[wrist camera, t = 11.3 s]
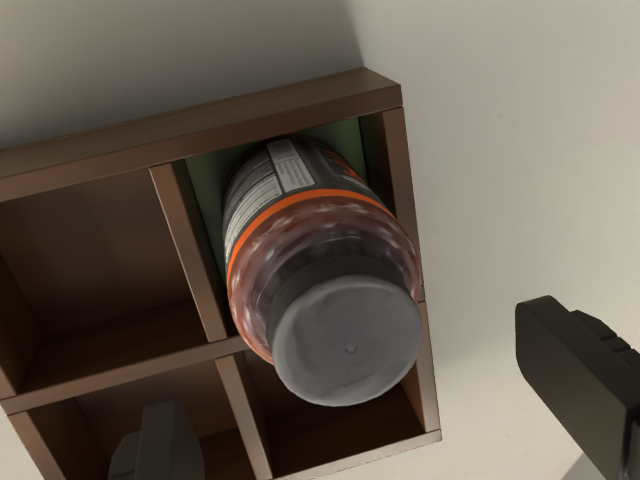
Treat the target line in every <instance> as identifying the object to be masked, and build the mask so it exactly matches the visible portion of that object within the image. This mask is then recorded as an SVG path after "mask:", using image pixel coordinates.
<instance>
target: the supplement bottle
mask: <svg viewBox="0 0 640 480" xmlns="http://www.w3.org/2000/svg"><path fill="white" fill-rule="evenodd" d="M221 216H222V229H223V241H224V256H225V269H226V282H227V289H228V299H229V306H230V309H231V313H232V317H233V320H234V322H235V325H236V327H237V329H238V331H239V333H240V335H241V336H242V338H243V339H244V341H245V342H246V343H247V344H248V345H249V347H250V348H251V349H252V350H253V351H254V352H255V353H256V354H258V355H259V356H260V357H262V358H263V359H264V360H266V361H267V362H269V363H271V364H273V365H274V367H275V369H276V371H277V373H278V376H279V378H280V379H281V380H282V381H283V383H284V384H285V386H286V387H287V388H288V389H289V390H290V391H291V392H293V393H295V394H296V395H297V396H299V397H300V398H302V399H304V400H306V401H308V402H311V403H314V404H320V405H324V406H332V407H335V406H349V405H353V404H358V403H363V402H366V401H368V400H370V399H373V398H375V397H378V396H380V395H382V394H383V393H384V392H386V391H388V390H389V389H390V388H392V387H393V386H394V385H395V384H397V383H398V382H399V381H400V380H401V379H402V378H403V377H404V376H405V375H406V374H407V373H408V371H409V370H410V369H411V367H412V366H413V364H414V363H415V360H416V358H417V357H418V355H419V353H420V350H421V346H422V339H423V322H422V318H421V314H420V311H419V309H418V306H417V302H418V298H419V294H420V288H421V267H420V264H419V259H418V255H417V252H416V249H415V248H414V244H413V241H412V240H411V238H410V237H409V236H408V234H407V233H406V231H405V230H404V228H403V227H402V225H401V224H400V223H399V222H398V221H397V220H396V219H395V217H394V215H393V214H392V213H391V212H390V211H389V210H388V209H387V207H386V206H385V205H384V204H383V202H382V201H381V200H380V199H379V197H378V196H377V195H376V194H374V192H373V191H372V190H371V189H370V188H369V187H368V185H367V184H366V183H365V182H364V180H363V179H362V178H361V177H360V175H359V174H358V173H357V172H356V171H355V170H354V168H353V167H352V166H351V165H350V164H349V163H348V161H347V160H346V159H345V158H344V157H343V156H342V155H341V154H339V153H338V152H337V151H336V150H334V149H333V148H332V147H330V146H329V145H327V144H326V143H324V142H322V141H320V140H318V139H315V138H311V137H308V136H305V135H294V134H289V135H281V136H275V137H272V138H269V139H266V140H263V141H261V142H259V143H257V144H256V145H254V146H252V147H251V148H249V149H248V150H247V151H246V152H244V153H243V154H242V155H241V156H240V157H239V158H238V160H237V161H236V162H235V163H234V165H233V166H232V168H231V170H230V172H229V174H228V175H227V178H226V180H225V183H224V187H223V190H222V200H221Z"/></svg>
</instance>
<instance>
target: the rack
mask: <svg viewBox="0 0 640 480" xmlns="http://www.w3.org/2000/svg"><path fill="white" fill-rule="evenodd" d="M402 105H403V101H402V92H401V85H400V84H398V83H396V82H394V81H392V80H390V79H388V78H386V77H384V76H382V75H380V74H378V73H376V72H374V71H372V70H370V69H368V68H366V67H362V68H358V69H354V70H349V71H345V72H341V73H336V74H332V75H328V76H323V77H319V78H315V79H310V80H306V81H302V82H297V83H293V84H289V85H284V86H280V87H275V88H271V89H267V90H262V91H258V92H254V93H249V94H245V95H241V96H236V97H232V98H228V99H223V100H219V101H215V102H210V103H206V104H202V105H197V106H193V107H188V108H184V109H180V110H175V111H171V112H167V113H162V114H158V115H154V116H149V117H145V118H141V119H136V120H132V121H128V122H123V123H119V124H115V125H110V126H106V127H102V128H97V129H93V130H88V131H84V132H80V133H75V134H71V135H67V136H62V137H58V138H54V139H49V140H45V141H41V142H36V143H32V144H28V145H23V146H19V147H15V148H10V149H6V150H1V151H0V406H1V408H2V410H3V411H4V413H5V414H6V415H7V418H8V420H9V422H10V423H11V425H12V427H13V428H14V430H15V432H16V433H17V435H18V437H19V438H20V440H21V442H22V443H23V445H24V446H25V448H26V450H27V451H28V453H29V455H30V456H31V458H32V460H33V461H34V463H35V465H36V466H37V468H38V470H39V471H40V473H41V475H42V476H43V478H44V480H109V479H108V475H109V470H110V464H111V459H112V455H113V454H114V452H115V450H116V449H117V447H118V445H119V444H120V442H121V441H122V439H123V437H124V436H125V434H129V433H132V432H136V431H140V430H141V424H142V416H143V410H144V406H145V405H146V404H148V403H152V402H156V401H159V400H163V399H167V398H170V397H174V396H178V395H179V396H180V397H181V399H182V401H183V403H184V405H185V408H186V410H187V413H188V415H189V418H190V421H191V423H192V426H193V428H194V431H195V433H196V436H197V438H198V441H199V443H200V447H201V450H202V455H203V460H204V469H205V480H312V479H315V478H319V477H322V476H325V475H329V474H332V473H335V472H339V471H342V470H345V469H348V468H352V467H355V466H358V465H362V464H365V463H368V462H372V461H375V460H378V459H381V458H385V457H388V456H391V455H395V454H398V453H401V452H405V451H408V450H411V449H415V448H418V447H421V446H424V445H428V444H431V443H434V442H438V441H441V440H442V435H441V428H440V419H439V410H438V402H437V393H436V384H435V376H434V367H433V358H432V350H431V341H430V333H429V324H428V315H427V307H426V301H425V291H424V285H423V284H424V280H423V272H422V263H421V254H420V246H419V237H418V229H417V220H416V211H415V203H414V194H413V186H412V177H411V168H410V160H409V151H408V142H407V134H406V125H405V117H404V108H403V107H402ZM289 134H294V135H305V136H308V137H311V138H315V139H318V140H320V141H322V142H324V143H326V144H327V145H329V146H330V147H332V148H333V149H334V150H336V151H337V152H338V153H339V154H341V155H342V156H343V157H344V158H345V159H346V160H347V161H348V163H349V164H350V165H351V166H352V167H353V168H354V170H355V171H356V172H357V173H358V174H359V175H360V177H361V178H362V179H363V180H364V182H365V183H366V184H367V185H368V187H369V188H370V189H371V190H372V191H373V192H374V194H376V195H377V196H378V197H379V199H380V200H381V201H382V202H383V204H384V205H385V206H386V207H387V209H388V210H389V211H390V212H391V213H392V214H393V215H394V217H395V219H396V220H397V221H398V222H399V223H400V224H401V225H402V227H403V228H404V230H405V231H406V233H407V234H408V236H409V237H410V238H411V240H412V241H413V244H414V248H415V249H416V252H417V255H418V259H419V264H420V267H421V288H420V294H419V298H418V302H417V306H418V309H419V311H420V314H421V318H422V322H423V339H422V346H421V350H420V353H419V355H418V357H417V358H416V360H415V363H414V364H413V366H412V367H411V369H410V370H409V371H408V373H407V374H406V375H405V376H404V377H403V378H402V379H401V380H400V381H399V382H398V383H397V384H395V385H394V386H393V387H392V388H390V389H389V390H388V391H386V392H384V393H383V394H382V395H380V396H378V397H375V398H373V399H370V400H368V401H366V402H363V403H358V404H353V405H349V406H335V407H332V406H324V405H320V404H314V403H311V402H308V401H306V400H304V399H302V398H300V397H299V396H297V395H296V394H295V393H293V392H291V391H290V390H289V389H288V388H287V387H286V386H285V384H284V383H283V381H282V380H281V379H280V378H279V376H278V373H277V371H276V369H275V367H274V365H273V364H271V363H269V362H267V361H266V360H264V359H263V358H262V357H260V356H259V355H258V354H256V353H255V352H254V351H253V350H252V349H251V348H250V347H249V345H248V344H247V343H246V342H245V341H244V339H243V338H242V336H241V335H240V333H239V331H238V329H237V327H236V325H235V322H234V320H233V317H232V313H231V309H230V306H229V299H228V289H227V282H226V269H225V256H224V241H223V229H222V216H221V200H222V190H223V187H224V183H225V180H226V178H227V175H228V174H229V172H230V170H231V168H232V166H233V165H234V163H235V162H236V161H237V160H238V158H239V157H240V156H241V155H242V154H243V153H244V152H246V151H247V150H248V149H249V148H251V147H252V146H254V145H256V144H257V143H259V142H261V141H263V140H266V139H269V138H272V137H275V136H281V135H289Z"/></svg>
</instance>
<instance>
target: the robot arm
mask: <svg viewBox="0 0 640 480" xmlns="http://www.w3.org/2000/svg"><path fill="white" fill-rule="evenodd" d="M515 331H516V358H517V362H518V366H519V368H520V371H521V373H522V375H523V376H524V378H525V379H526V381H527V382H528V383H529V385H530V386H531V387H532V388H533V390H534V391H535V392H536V393H537V394H538V396H539V397H540V398H541V399H542V401H543V402H544V403H545V404H546V406H547V407H548V408H549V409H550V411H551V412H552V413H553V414H554V416H555V417H556V418H557V419H558V420H559V422H560V423H561V424H562V425H563V427H564V428H565V429H566V430H567V432H568V433H569V434H570V435H571V437H572V438H573V439H574V440H575V441H576V443H577V444H578V445H579V446H580V448H581V449H582V450H583V451H584V453H585V454H586V455H587V456H588V458H589V459H590V460H591V461H592V463H593V464H594V465H595V466H596V467H597V468H598V470H599V471H600V472H601V474H602V475H603V476H604V477H605V479H606V480H640V354H639V353H638V352H637V351H636V350H635V349H631V347H630V345H629V344H628V343H627V342H625V341H624V340H623V339H622V338H621V337H617V334H616V333H615V332H614V331H613V330H611V329H610V328H609V327H608V326H607V325H606V324H604V323H603V322H602V321H601V320H599V319H597V318H595V317H593V316H590V315H588V314H586V313H584V312H581V311H579V310H575V311H572V312H569V311H568V310H567V309H566V308H565V307H564V306H562V305H561V304H560V303H559V302H558V301H557V300H556V299H555V298H553V297H552V296H549V295H547V296H543V297H539V298H536V299H532V300H528V301H525V302H521V303H518V304H517V305H516V309H515ZM108 479H109V480H205V469H204V460H203V455H202V450H201V447H200V443H199V441H198V438H197V436H196V433H195V431H194V428H193V426H192V423H191V421H190V418H189V415H188V413H187V410H186V408H185V405H184V403H183V401H182V399H181V397H180V396H179V395H178V396H174V397H170V398H167V399H163V400H159V401H156V402H152V403H148V404H146V405H145V406H144V410H143V416H142V424H141V430H140V431H136V432H132V433H129V434H125V436H124V437H123V439H122V441H121V442H120V444H119V445H118V447H117V449H116V450H115V452H114V454H113V455H112V459H111V464H110V470H109V475H108Z"/></svg>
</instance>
